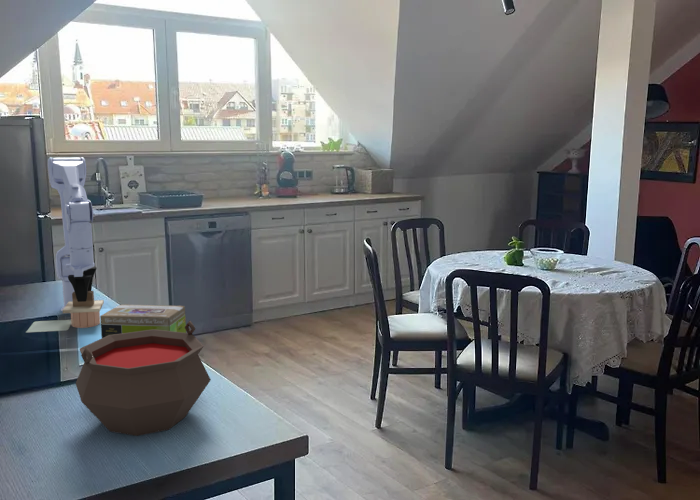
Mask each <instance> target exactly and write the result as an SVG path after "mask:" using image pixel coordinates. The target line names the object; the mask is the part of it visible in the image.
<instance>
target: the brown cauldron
mask: <svg viewBox="0 0 700 500" xmlns="http://www.w3.org/2000/svg"><path fill="white" fill-rule="evenodd" d="M185 329H186V333H183V332H174V331H165V330H155V329H153V330H145V331H137V332H129V333H122V334H114V335H108V336H106V337H104V338H102V337H101V338H100V339H97V340H95V341H93V342H91V343H89V344H87V345H84V346H82V347H80V348H79V352H80V354H81V355H80V356H81V358H82V360H83V364H82V366H81V369H80V371H79V374H78V376H77V378H76V381H75V386H76V388H77V389H76V390H77V392H78V395H79V398H80V401H81V403H82V404H83V405H84V406H85V408H87V409H88V410H89V412H91V413H92V414H93V416H94V417H96V418H97V419H98V420H99V422H101V424H103V426H104V427H105V428H106V429H107V430H108V431H109V432H111V433H116V434H117V433H118V434H122V435H127V436H128V435H129V436H133V437H134V436H136V437H139V436H143V435H148V434H154V433H159V432H163V431H168V430H170V429H172V428H173V427H174V426H176V425H177V424H178V423H180V422H181V421H183V420H184V419H185V418H186V417H187V415H188V414H189V412H190V411H191V409H192V408H193V407H194V405H195V404H196V402H197V401H198V399H199V398H200V396H201V395H202V393H203V392H204V391H205V389H206V387H207V386H208V385H209V384H210V382H211V377H210V376H209V373H208V372H207V369H206V368H205V366H204V364H203V361H202V360H201V357H200V355H199V354H200V352H201V351H202V350H203V348H204V347H205V346H204V344H203V343H202V342H201V341H200V340H199V339H198V338H197V337H196V336H195V335H194V334H193V333H194V332H195V331H196V326H195V324H194V323H193V322H192V321H191V320H189V321H188V322H187V323H186V326H185Z"/></svg>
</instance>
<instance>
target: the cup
mask: <svg viewBox="0 0 700 500" xmlns="http://www.w3.org/2000/svg"><path fill="white" fill-rule="evenodd" d="M100 316H101V313H100V312H81V313H70V320H71V325H70V326H71V327H73V328H77V329H78V328H80V329H85V328H86V329H87V328H92V327H96V326H98V325H101V319H100Z"/></svg>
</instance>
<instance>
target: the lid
mask: <svg viewBox="0 0 700 500" xmlns="http://www.w3.org/2000/svg"><path fill="white" fill-rule="evenodd" d="M72 300H73V301H72V302H68V303H67V305H66V306H65V308H64V309H63V311H62V314H71V313H81V312H100V311H101V309H102V308H103V306H104V299H97V300H95V294H94V290H91V291H88V295H87V300H86V301H85V302H78V301H77V298H76V295H75V292H73V293H72Z"/></svg>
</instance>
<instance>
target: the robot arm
mask: <svg viewBox="0 0 700 500" xmlns="http://www.w3.org/2000/svg"><path fill="white" fill-rule="evenodd" d="M86 163H87V162H86V158H84V157H83V156H80V157H52V156H49V158H47V170H48V178H49V181H48V182H49V184H50V187H51V189H54V190H56V191H57V192H58V195H59V198H60V208H61V209H60V210H61V218H62V219H61V220H62V227H63V228H62V229H63V239H64V240H63V241H64V245H63V246H62V247H61V248H60V249H58V250H57V251H56V254H55V271H56V277H57V278H58V280H61V281H62V282H61V283H62V284H61V285H62V295H63V299H62V300H63V306H62V307H61V309H60V312H63V309H64V308H65V306H66V305H67V303H68V302H72V301H73V300H72V293H73V292H75V295H76V298H77V301H78V302H85V301H86V300H87V295H88V291H92V289H93V288H92V287H93V281H94V276H95V272H96V270H97V266H95V265H96V264H95V261H94V247H93V246H94V245H93V233H92V232H93V230H92V229H93V227H92V224H93V222H94V207H93V203H92V202H91V200H90V199H88V196H87V191H86V189H85V183H86V180H87V179H86V178H87V164H86Z"/></svg>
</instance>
